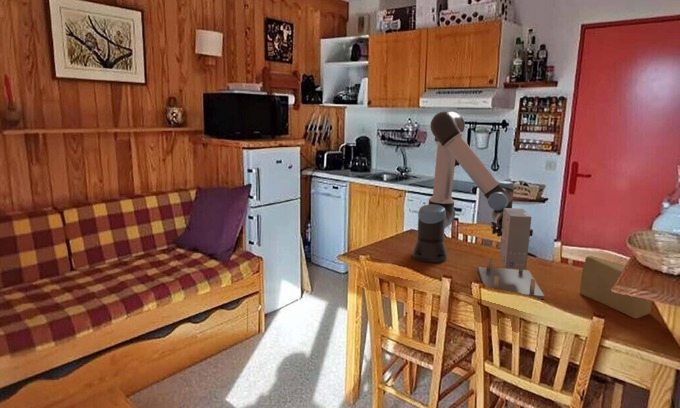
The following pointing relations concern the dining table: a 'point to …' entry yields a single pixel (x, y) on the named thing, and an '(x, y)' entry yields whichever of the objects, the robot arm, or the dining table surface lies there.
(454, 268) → the dining table surface
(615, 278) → the olive brown block
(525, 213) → the hard drive box
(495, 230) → the robot arm
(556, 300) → the dining table surface
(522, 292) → the standoff base
